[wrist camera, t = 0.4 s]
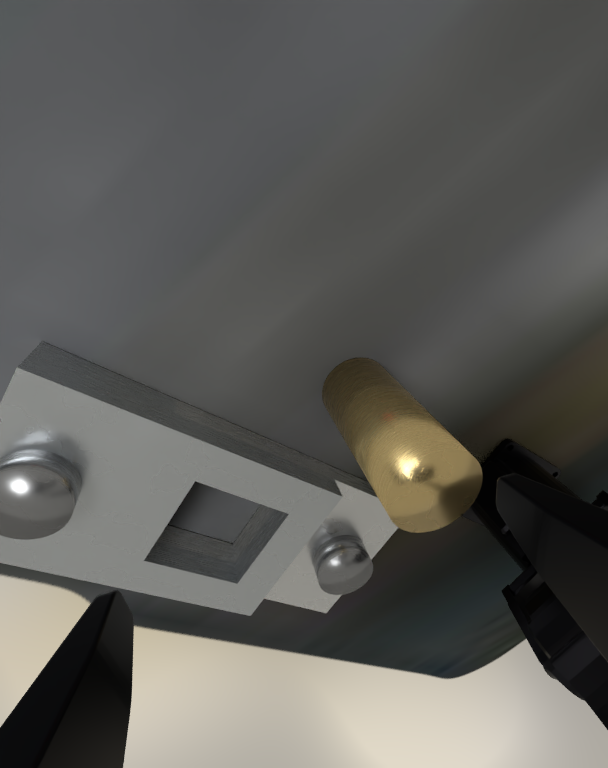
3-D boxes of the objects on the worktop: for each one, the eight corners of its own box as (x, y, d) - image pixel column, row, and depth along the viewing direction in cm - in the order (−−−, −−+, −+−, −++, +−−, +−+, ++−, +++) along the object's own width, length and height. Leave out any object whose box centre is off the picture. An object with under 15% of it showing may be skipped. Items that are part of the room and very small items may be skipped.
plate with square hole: (401, 496, 28) (435, 547, 24) (320, 594, 31) (339, 655, 27) (42, 341, 19) (1, 384, 15) (-35, 502, 21) (-87, 576, 17)
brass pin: (401, 376, 24) (501, 471, 16) (361, 429, 25) (438, 543, 17) (348, 345, 22) (433, 433, 15) (308, 403, 23) (366, 515, 15)
